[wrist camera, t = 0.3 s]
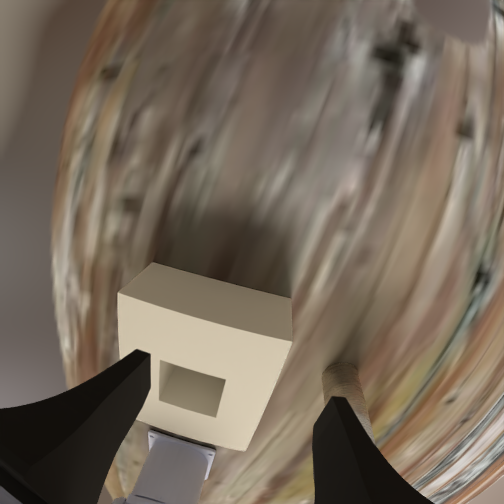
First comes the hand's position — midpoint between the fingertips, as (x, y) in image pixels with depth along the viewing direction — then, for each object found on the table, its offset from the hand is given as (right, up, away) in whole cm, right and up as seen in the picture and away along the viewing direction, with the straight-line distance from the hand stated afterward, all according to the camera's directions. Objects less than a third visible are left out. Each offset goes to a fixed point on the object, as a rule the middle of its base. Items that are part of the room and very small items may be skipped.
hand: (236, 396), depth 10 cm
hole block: (-3, -2, +11) cm, 12 cm away
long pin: (+8, -5, +11) cm, 14 cm away
